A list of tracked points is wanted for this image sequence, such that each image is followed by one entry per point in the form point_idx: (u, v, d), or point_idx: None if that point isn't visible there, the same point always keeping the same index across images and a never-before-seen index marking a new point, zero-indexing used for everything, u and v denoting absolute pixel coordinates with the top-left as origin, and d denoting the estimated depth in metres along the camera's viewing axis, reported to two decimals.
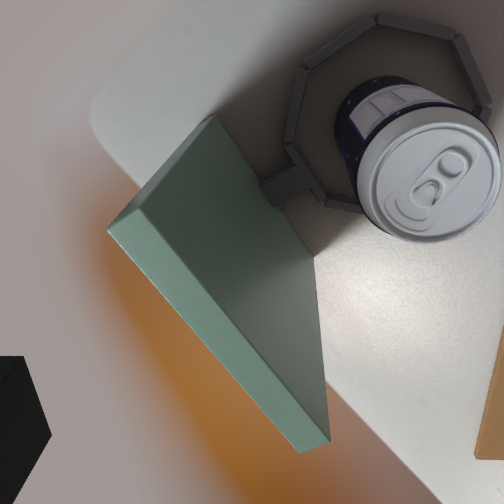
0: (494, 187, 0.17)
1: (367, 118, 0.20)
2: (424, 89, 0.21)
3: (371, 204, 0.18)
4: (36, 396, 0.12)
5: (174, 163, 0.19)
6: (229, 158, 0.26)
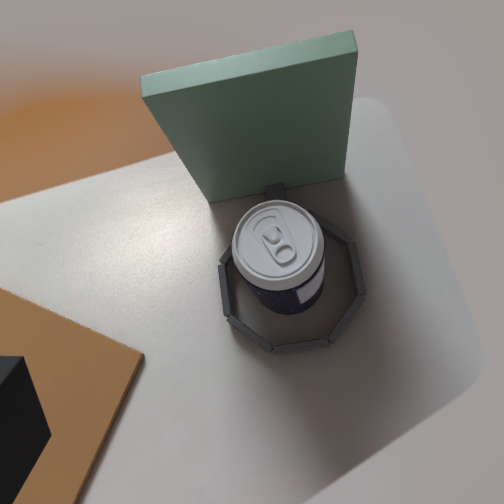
0: (257, 275, 0.26)
1: None
2: (315, 290, 0.31)
3: (279, 200, 0.27)
4: (36, 396, 0.12)
5: (351, 104, 0.29)
6: (317, 165, 0.36)
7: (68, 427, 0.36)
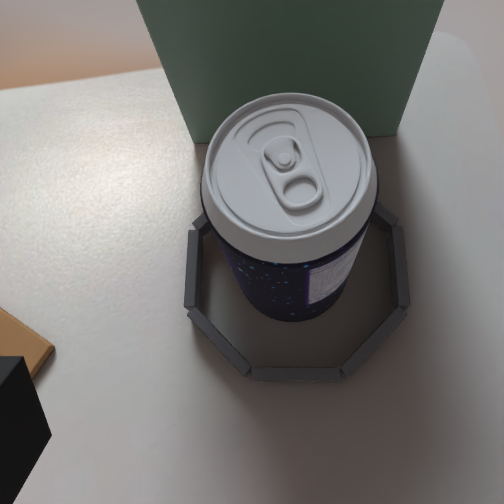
0: None
1: None
2: (337, 283, 0.18)
3: (306, 94, 0.14)
4: (36, 396, 0.12)
5: None
6: (363, 101, 0.24)
7: None
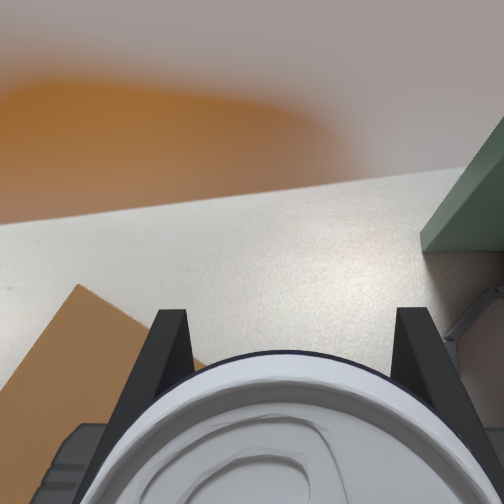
0: None
1: None
2: None
3: (341, 384, 0.05)
4: (189, 347, 0.13)
5: None
6: None
7: None
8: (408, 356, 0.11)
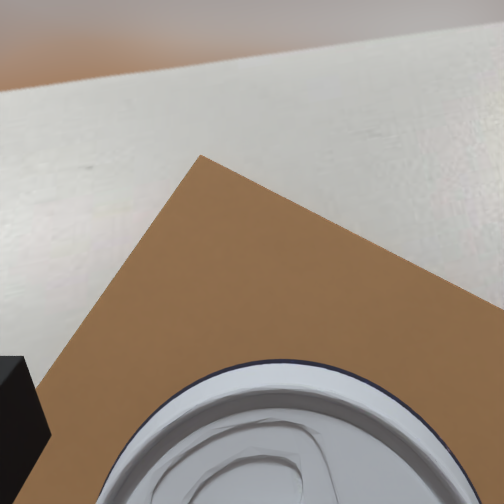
0: None
1: None
2: None
3: (331, 392, 0.06)
4: (36, 396, 0.12)
5: None
6: None
7: None
8: None
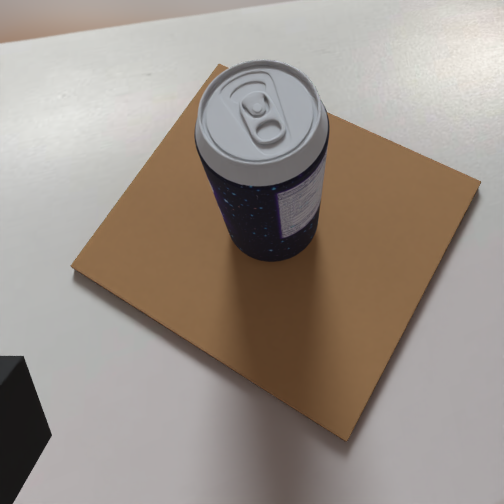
0: None
1: None
2: (304, 218, 0.23)
3: (274, 61, 0.19)
4: (36, 396, 0.12)
5: None
6: None
7: (384, 256, 0.28)
8: None
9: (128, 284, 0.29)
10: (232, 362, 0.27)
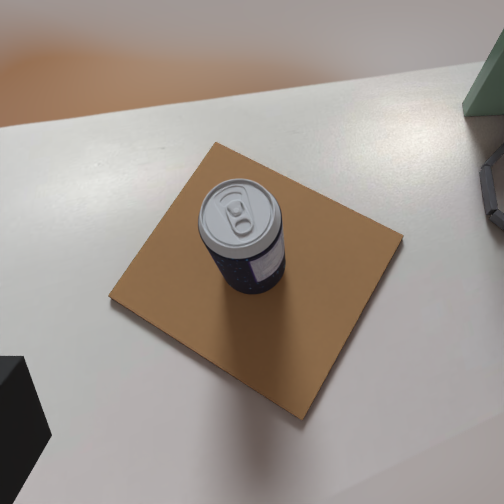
0: (216, 241, 0.29)
1: None
2: (271, 270, 0.34)
3: (247, 179, 0.30)
4: (36, 396, 0.12)
5: None
6: None
7: (332, 290, 0.39)
8: None
9: (150, 309, 0.40)
10: (224, 365, 0.38)
